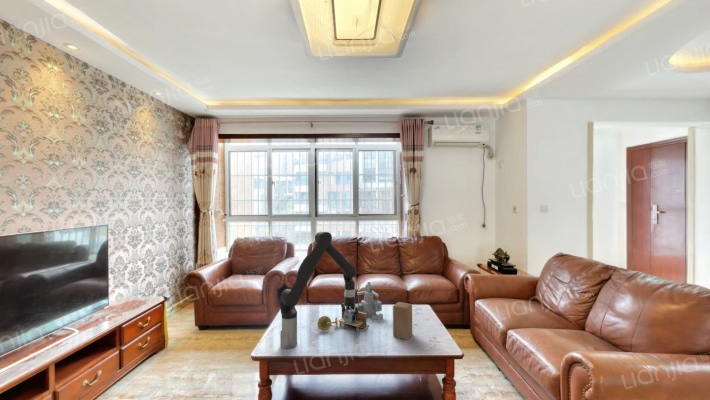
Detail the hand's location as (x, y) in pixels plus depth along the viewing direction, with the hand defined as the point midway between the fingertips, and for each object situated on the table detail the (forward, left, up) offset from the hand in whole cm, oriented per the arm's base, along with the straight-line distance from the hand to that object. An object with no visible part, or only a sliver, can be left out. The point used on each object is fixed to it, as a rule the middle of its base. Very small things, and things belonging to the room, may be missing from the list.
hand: (349, 319), depth 199 cm
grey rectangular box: (0, 0, -1) cm, 1 cm away
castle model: (+23, -1, -6) cm, 24 cm away
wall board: (+3, 0, -5) cm, 6 cm away
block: (+8, -36, -6) cm, 37 cm away
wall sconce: (-4, +18, -5) cm, 19 cm away
